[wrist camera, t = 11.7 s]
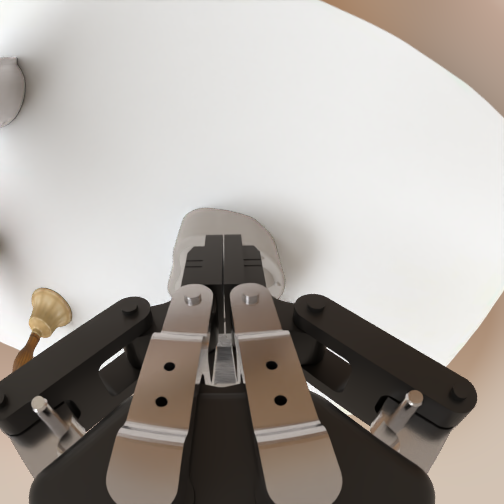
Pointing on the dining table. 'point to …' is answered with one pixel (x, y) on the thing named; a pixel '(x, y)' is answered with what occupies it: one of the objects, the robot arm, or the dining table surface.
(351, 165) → the dining table surface
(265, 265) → the paw print stamp
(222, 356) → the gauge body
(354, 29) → the dining table surface
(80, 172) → the dining table surface
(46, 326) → the hand bell
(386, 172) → the dining table surface
